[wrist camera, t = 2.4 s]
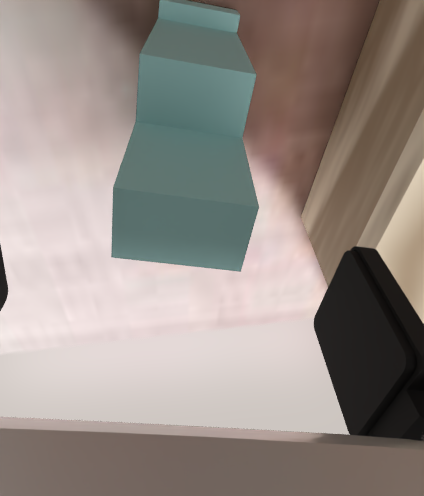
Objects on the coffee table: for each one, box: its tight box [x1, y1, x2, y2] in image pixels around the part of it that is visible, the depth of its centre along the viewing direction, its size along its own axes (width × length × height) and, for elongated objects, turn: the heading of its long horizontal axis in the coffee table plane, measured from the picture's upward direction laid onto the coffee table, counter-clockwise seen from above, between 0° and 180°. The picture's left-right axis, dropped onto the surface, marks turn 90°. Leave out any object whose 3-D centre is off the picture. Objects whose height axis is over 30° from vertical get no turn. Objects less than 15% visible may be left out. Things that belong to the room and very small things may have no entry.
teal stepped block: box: [112, 0, 259, 272], centre depth 18 cm, size 4×9×15 cm, turn 170°
